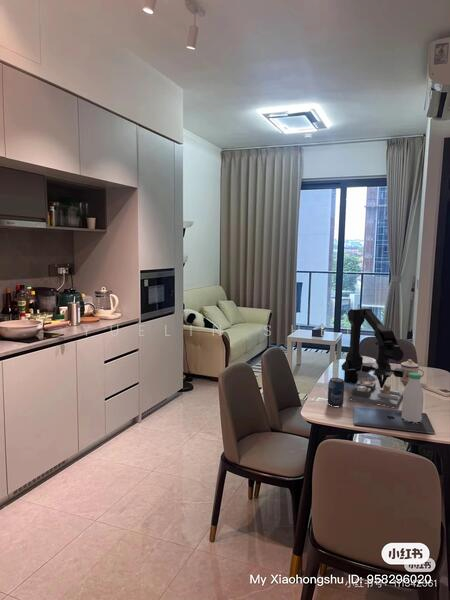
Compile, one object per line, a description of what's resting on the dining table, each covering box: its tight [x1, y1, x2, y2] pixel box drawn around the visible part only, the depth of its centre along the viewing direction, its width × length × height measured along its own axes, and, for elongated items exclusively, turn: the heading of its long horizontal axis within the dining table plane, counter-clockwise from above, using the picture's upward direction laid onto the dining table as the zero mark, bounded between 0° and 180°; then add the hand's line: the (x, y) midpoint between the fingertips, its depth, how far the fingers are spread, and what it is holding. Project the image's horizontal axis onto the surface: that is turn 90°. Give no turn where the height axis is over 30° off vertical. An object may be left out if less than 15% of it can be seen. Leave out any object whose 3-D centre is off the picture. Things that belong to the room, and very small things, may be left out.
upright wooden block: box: [383, 383, 391, 394], centre depth 204 cm, size 2×5×4 cm, turn 150°
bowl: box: [358, 355, 377, 377], centre depth 247 cm, size 16×16×9 cm
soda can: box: [327, 377, 345, 407], centre depth 195 cm, size 7×7×12 cm
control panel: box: [348, 379, 404, 409], centre depth 206 cm, size 21×20×4 cm
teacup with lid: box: [399, 359, 425, 383], centre depth 234 cm, size 12×9×12 cm
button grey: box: [356, 385, 367, 392], centre depth 205 cm, size 4×4×2 cm
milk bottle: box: [401, 372, 424, 423], centre depth 178 cm, size 8×8×20 cm
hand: (381, 387), depth 205 cm, fingers closed
